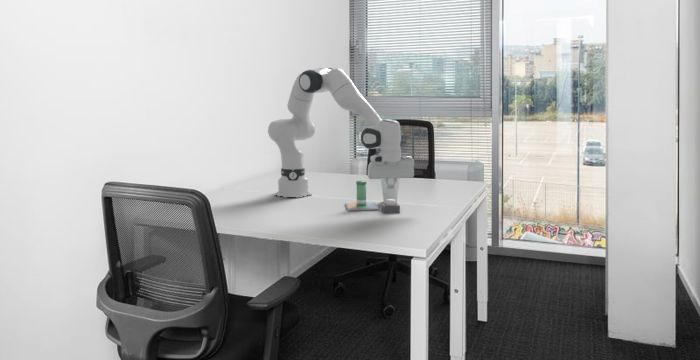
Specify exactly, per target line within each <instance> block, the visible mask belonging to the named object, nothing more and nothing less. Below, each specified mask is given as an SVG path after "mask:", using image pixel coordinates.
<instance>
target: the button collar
mask: <svg viewBox="0 0 700 360" xmlns="http://www.w3.org/2000/svg"><path fill="white" fill-rule="evenodd" d="M380 207H381V209H380V210H381V212H383V214H391V213H392V214H394V213H395V214H396V213H400V212H401V206H400V204H399V203H398V202H396V205H393V206H386V205H385V202H382V203H381V206H380Z"/></svg>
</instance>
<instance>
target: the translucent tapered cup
mask: <svg viewBox="0 0 700 360" xmlns="http://www.w3.org/2000/svg"><path fill="white" fill-rule="evenodd" d="M400 181H401V178H397V182H396V183H395V188H394V189H388V188H387V183H386V182H385V179H380V183H381V184H380V185H381V193H382V200H383V203H386V199H395V200H396V203H398V197H399V196H398V195H399V189H400ZM393 182H394V180H393V178H389V181H388V183H389V184H393Z"/></svg>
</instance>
